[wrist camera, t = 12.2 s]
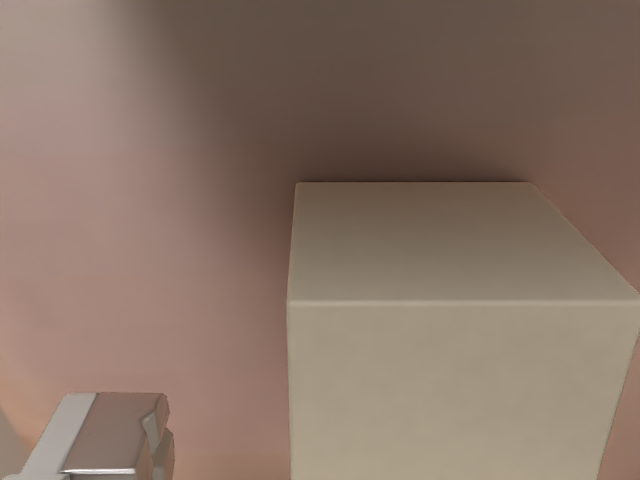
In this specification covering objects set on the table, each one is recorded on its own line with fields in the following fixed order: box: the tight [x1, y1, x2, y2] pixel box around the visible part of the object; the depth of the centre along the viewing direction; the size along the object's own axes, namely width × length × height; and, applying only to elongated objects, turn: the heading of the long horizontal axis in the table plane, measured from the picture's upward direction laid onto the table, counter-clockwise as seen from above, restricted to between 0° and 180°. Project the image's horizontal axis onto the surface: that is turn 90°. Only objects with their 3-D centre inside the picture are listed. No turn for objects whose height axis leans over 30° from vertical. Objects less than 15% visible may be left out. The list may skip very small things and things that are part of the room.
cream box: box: [286, 182, 640, 480], centre depth 11 cm, size 6×5×5 cm
